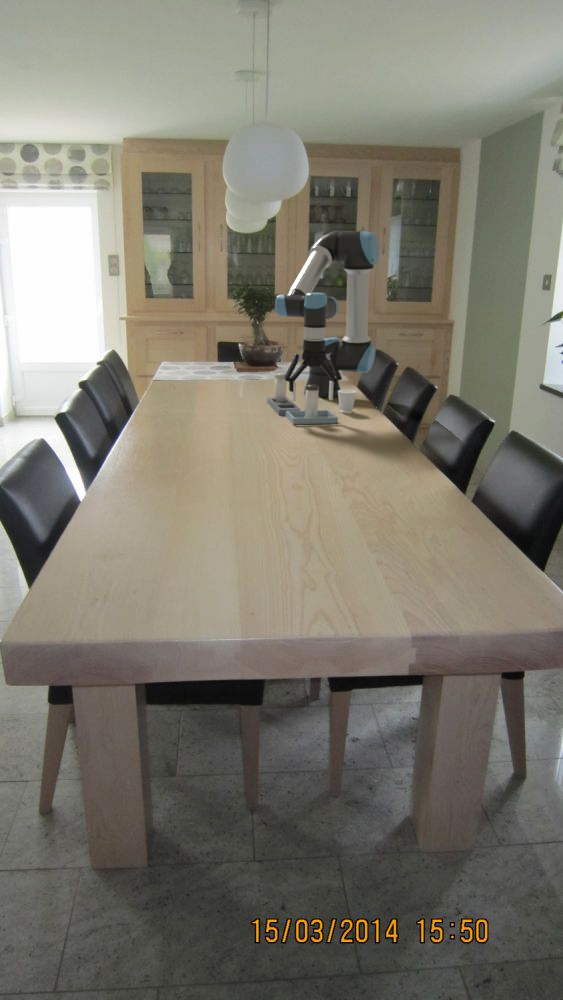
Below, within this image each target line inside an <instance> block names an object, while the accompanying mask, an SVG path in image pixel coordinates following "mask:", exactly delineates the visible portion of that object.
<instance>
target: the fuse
mask: <svg viewBox="0 0 563 1000" xmlns="http://www.w3.org/2000/svg"><path fill="white" fill-rule="evenodd" d="M285 375H286V373H281V372H280V373H278V372H277V373H275V374H274V398H275V400H274V402H286V397H287V382H288V381H286V380H285V379H284V377H285Z"/></svg>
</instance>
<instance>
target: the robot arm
mask: <svg viewBox="0 0 563 1000" xmlns="http://www.w3.org/2000/svg"><path fill="white" fill-rule="evenodd" d="M379 245H380V244H379V240H378V238H377V235H376V234H375V233H374V232H370V231H364V230H361V231H360V230H359V231H358V230H355V231H354V230H334V231H331V232H329V233H327V234H324V235H323V236H322V237H321V236H320V238H319V239H318V240H316V241H315V242H314V243H313V244H312V246H311V247H310V249H309V250H308V254H307V260H306V261H305V263H304V264H303V266H302V268H301V269H300V271H299V273H298V275H297V277H296V278H295V280H294V282H293V283H292V285H291V286H290V288H289V290H288V291H287V293H286V294H285V293H283V294H278V295H277V296H276V298H275V302H274V309H275V313H276V314H277V315H278V316H281V317H286V318H303V319H304V321H303V342H302V343H303V344H302V345H303V346H302V354H299V353H297V352H295V353H293V359H292V361H291V363H290V366H289V367H288V369H287V371H286V373H285V374H286V375H285V377H284V379H285V380H286V381H287V382H288V390H289V392H290V393H291V401H292V402H293V403H294V402H296V398H297V397H296V394H297V393H296V390H297V389H296V387H297V383H296V380H298V378H299V377H300V375H301V374H302V373H303V372H304V371H305V370H306V369H307V367H309V374H308V377H307V381H306V382H305V386H304V391H303V394H304V395H305V396H306V385H318V386H319V390H318V398H325V399H326V398H328V400H329V401H333V400H334V398H336V397H337V398H338V391H339V390H341V386H340V382H339V381H341V380H342V375H341V373H340V372H349V373H356V374H359V373H363V374H365V373H368V372H369V371H370V370H371V369H372V367H373V364H374V362H375V361H374V360H375V358H376V357H375V356H376V352H377V351H376V345H375V344H374V343H372V338H371V337H370V336H369V335H368V332H369V331H368V326H369V297H370V296H369V295H370V293H369V292H370V273H371V272H372V271H373V270H374V266H375V265H376V264H378V262H379V260H380V259H379V258H380V246H379ZM334 263H338V264H339V263H340V264H342V266H343V270H344V271H345V272H346V312H345V313H346V316H345V320H346V321H345V322H346V324H345V334H344V336H343V337H342V338H341V341H340V338H339V337H335V336H334V337H326V335H327V333H326V332H327V331H326V329H327V320H329V319H332V318H334V317H336V316H337V315H338V313H339V310H340V304H339V301H338V300H337V298H335V297H333V296H328V295H327V294H326V293H324V292H313V291H314V289H315V288H316V286H317V284H318V282H319V280H320V278H321V277H322V275H323V274H324V271H325V270H326V269H327V268H329V267H330V266H331V265H332V264H334ZM300 360H303V362H301V364H300V366H299V367H298V368H297V367H296V366H297V364H298V362H299V361H300ZM296 368H297V369H296ZM295 369H296V370H295Z"/></svg>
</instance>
